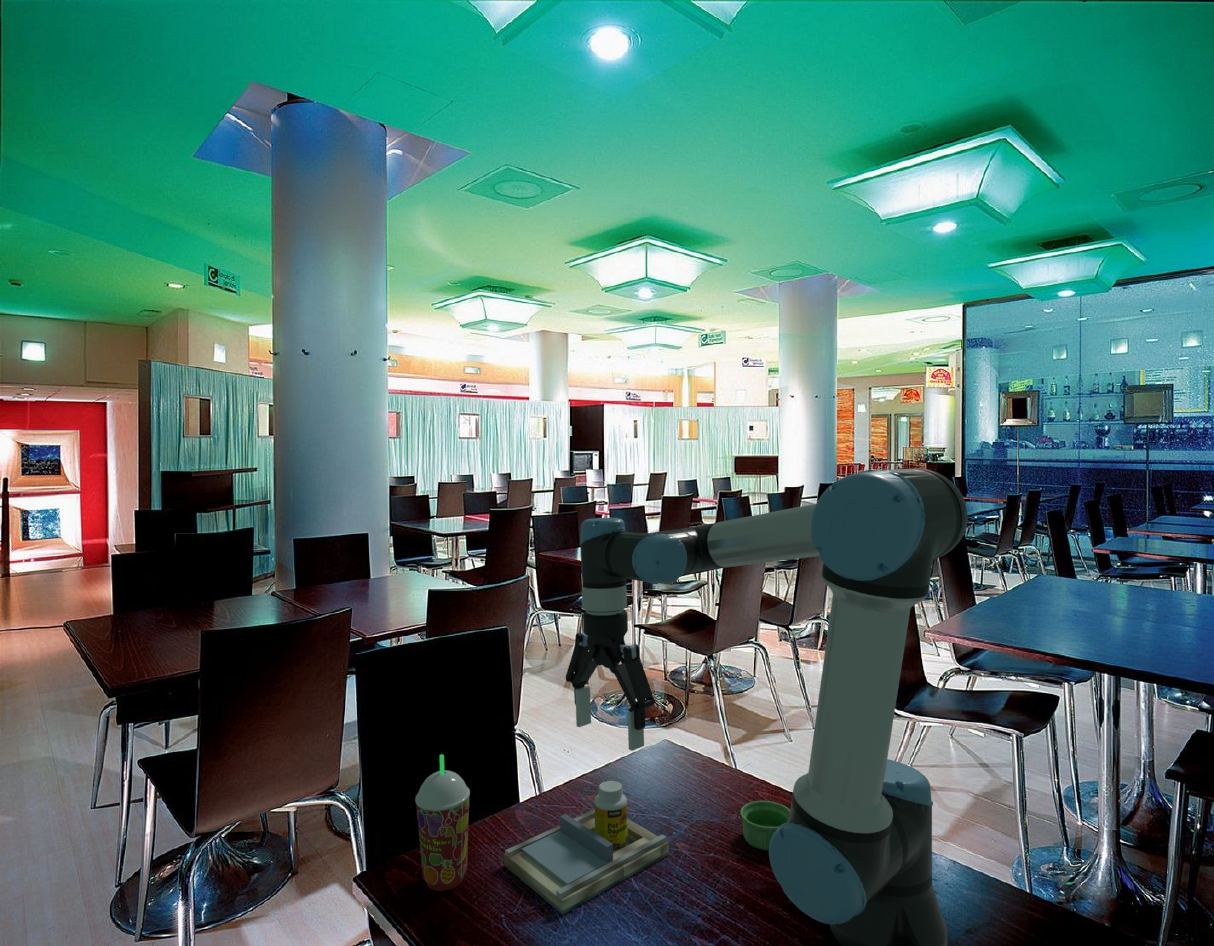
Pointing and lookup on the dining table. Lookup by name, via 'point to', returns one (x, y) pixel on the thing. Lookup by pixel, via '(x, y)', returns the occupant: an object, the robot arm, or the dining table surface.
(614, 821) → the supplement bottle
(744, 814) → the ramekin
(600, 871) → the sliding lid box
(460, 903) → the dining table surface
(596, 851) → the cover
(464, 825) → the smoothie
